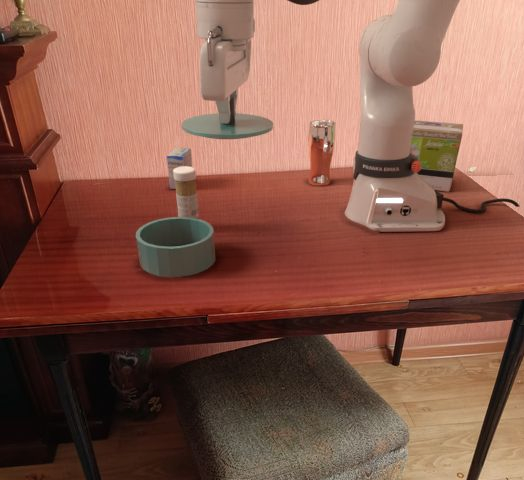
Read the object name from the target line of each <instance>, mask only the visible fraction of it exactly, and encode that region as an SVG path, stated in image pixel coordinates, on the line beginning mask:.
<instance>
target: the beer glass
mask: <svg viewBox="0 0 524 480" xmlns="http://www.w3.org/2000/svg"><path fill="white" fill-rule="evenodd" d="M336 124H337V123H336V122H335V121H333V120H329V119H315V120H312V121H309V128H308V136H307V147H308V148H307V151H308V158H309V175H308V179H307V183H308V184H309V185H312V186H318V187H323V186H328V185H330V184H331V182H332V180H331V165H332V160H333V156H334V152H335V147H336V136H337V134H336V131H337V130H336V126H337V125H336Z"/></svg>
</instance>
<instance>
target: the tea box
mask: <svg viewBox="0 0 524 480" xmlns="http://www.w3.org/2000/svg"><path fill="white" fill-rule="evenodd" d="M463 129H464V124H463V123H453V122H441V121H428V120H417V119H415V122H414V128H413V135H412V141H411V148H410V153H411V154H412V155H414V154H415V156H416V157H417V158H418V161H419V162H420V163H421V168H420V169H421V170H419V172H416V173H418V174H419V175H420V176H421V177H422V178H423V179H424V180H425V181H426V182H427V183H428V184H430V185H431V186H432V188H433V189H434V190H435V191H437V192H446V193H449V192H451V191H450V190H451V187H452V183H453V179H454V174H455V170H456V165H457V161H458V156H459V151H460V147H461V143H462V138H463V131H464V130H463Z"/></svg>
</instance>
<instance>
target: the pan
mask: <svg viewBox="0 0 524 480" xmlns="http://www.w3.org/2000/svg"><path fill="white" fill-rule="evenodd" d="M135 242H136V248H137V254H138V261H139V265H140V267H141V268H142V270H143V271H145V272H147V273H149V274H150V275H153V276H158V277H163V278H164V277H165V278H181V277H188V276H193V275H197V274H199V273H202V272H205V271H206V270H208V269H209V268H211V267H212V266H213V265H214V264H215V262H216V260H217V259H216V258H217V257H216V243H215V230H214V227H213V226H212V224H211V223H210V222H208V221H205V220H204V219H201V218H199V219H196V218H189V217H178V216H173V217H171V216H170V217H165V218H159V219H156V220H152V221H149V222H147V223H145V224H143V225H142V226H140V227H139V228H138V229H137V231H136V232H135Z"/></svg>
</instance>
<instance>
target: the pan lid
mask: <svg viewBox="0 0 524 480" xmlns="http://www.w3.org/2000/svg"><path fill="white" fill-rule="evenodd" d="M229 104H230V111H231V121H230V122H229V123H228V124H223V123H220V122H219V112H217V113H206V114H199V115H195V116H192V117H188V118H186V119H185V120H183V121H182V122H181V129H182V131H184V132H185V133H187V134H189V135H193V136H195V137H202V138H206V139H214V140H241V139H248V138H249V139H250V138H253V137H258V136H263V135H265V134H268V133H270V132H272V131H273V129H274V122H273V121H272V120H271V119H269V118H267V117H264V116H260V115H256V114H251V113H250V114H249V113H239V112H236V116H235V97H232V96H230V101H229Z"/></svg>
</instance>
